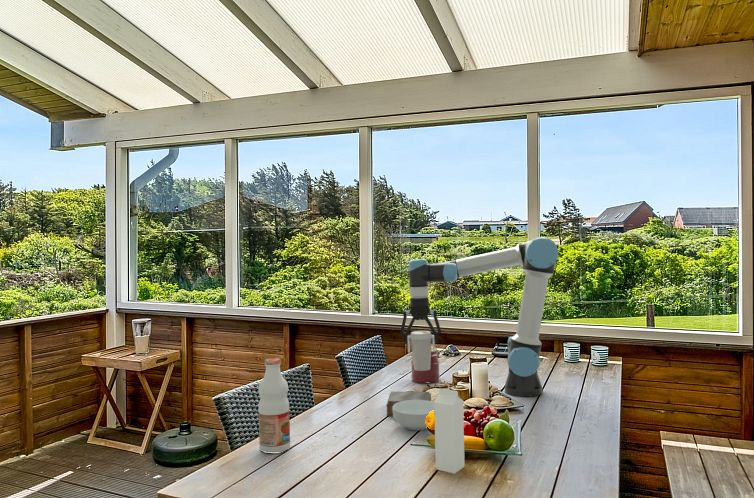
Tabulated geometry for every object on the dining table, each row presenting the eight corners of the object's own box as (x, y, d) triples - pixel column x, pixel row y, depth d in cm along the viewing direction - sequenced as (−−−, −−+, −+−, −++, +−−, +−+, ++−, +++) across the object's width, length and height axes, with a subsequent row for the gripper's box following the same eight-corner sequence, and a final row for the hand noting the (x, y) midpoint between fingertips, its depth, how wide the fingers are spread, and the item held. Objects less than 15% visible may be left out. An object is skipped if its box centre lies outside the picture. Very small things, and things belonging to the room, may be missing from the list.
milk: (446, 462, 158) (444, 385, 158) (465, 467, 155) (463, 388, 155) (435, 469, 154) (433, 390, 154) (454, 474, 150) (452, 393, 150)
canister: (407, 382, 249) (406, 343, 249) (416, 376, 261) (415, 338, 261) (435, 384, 244) (434, 345, 244) (443, 377, 256) (442, 340, 256)
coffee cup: (432, 371, 220) (431, 334, 220) (409, 371, 222) (407, 334, 222) (435, 366, 229) (433, 330, 229) (412, 366, 231) (410, 330, 231)
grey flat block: (431, 404, 215) (430, 391, 215) (430, 416, 201) (430, 401, 201) (390, 404, 216) (389, 391, 216) (387, 415, 202) (386, 401, 202)
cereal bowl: (408, 438, 178) (408, 416, 178) (384, 424, 193) (383, 404, 193) (451, 429, 186) (451, 408, 186) (425, 416, 201) (424, 396, 201)
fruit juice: (259, 445, 176) (256, 357, 175) (289, 442, 178) (286, 355, 178) (260, 456, 167) (257, 363, 166) (291, 452, 169) (288, 361, 168)
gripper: (446, 295, 228) (448, 349, 228) (393, 296, 230) (395, 350, 231) (446, 297, 221) (448, 352, 221) (391, 298, 223) (393, 354, 223)
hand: (421, 351), depth 226 cm, fingers closed on coffee cup, 9 cm apart
